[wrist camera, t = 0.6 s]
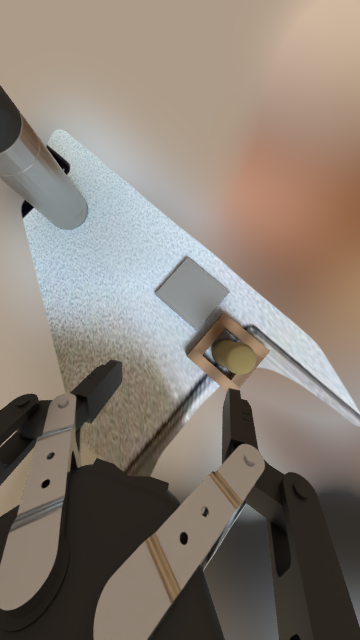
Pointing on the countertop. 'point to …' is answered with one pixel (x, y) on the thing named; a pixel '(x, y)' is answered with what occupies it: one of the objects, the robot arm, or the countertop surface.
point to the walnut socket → (211, 336)
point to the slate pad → (192, 293)
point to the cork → (234, 356)
